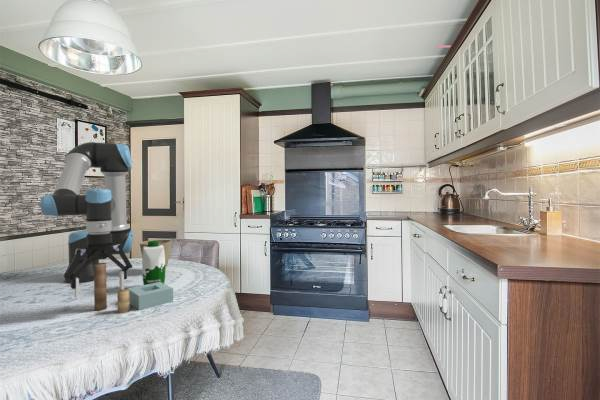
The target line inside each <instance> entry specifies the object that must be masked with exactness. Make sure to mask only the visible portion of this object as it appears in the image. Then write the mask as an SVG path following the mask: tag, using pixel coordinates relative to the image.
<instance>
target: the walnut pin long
mask: <svg viewBox="0 0 600 400" xmlns="http://www.w3.org/2000/svg"><path fill="white" fill-rule="evenodd" d="M93 286H94V287H93V291H94V293H93V294H94V295H93V297H94V299H93V301H94V311H95V312H101V311H105V310H107V308H108V304H107V303H108V302H107V300H108V298H107V297H108V295H107V263H106V262H99V263H97V264H94V280H93Z"/></svg>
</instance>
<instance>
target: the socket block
mask: <svg viewBox="0 0 600 400" xmlns="http://www.w3.org/2000/svg"><path fill="white" fill-rule="evenodd" d="M127 290H129V299H130V305H132V306H133V307H134V308H135V309H137V310H139V311H142V310H145V309H148V308H149V309H150V308H152V307H156V306H160V305H164V304H168V303H171V302H174V287H172V286H170V285H167V284H165V282H164V283H162V282H157V283H152V284H147V285H144V284H143V285H139V286H133V287H129V288H127Z"/></svg>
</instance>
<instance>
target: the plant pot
mask: <svg viewBox="0 0 600 400" xmlns="http://www.w3.org/2000/svg"><path fill="white" fill-rule="evenodd" d="M149 241H158V245H163V246H164V250H165V253H164V254H165V271H166V269H167V266H168V263H169V260H170V255H171V251H172V239H152V240H151V239H150V240H145V241H141V242H139V246H140V252H141V257H143V254H142V252H143V247H144V246H148V242H149Z"/></svg>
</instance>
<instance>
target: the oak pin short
mask: <svg viewBox="0 0 600 400" xmlns="http://www.w3.org/2000/svg"><path fill="white" fill-rule="evenodd" d="M116 295H117V299H116V300H117V313H118V314H125V312H126V313H128V312H130V308H131V306H130V305H131V304H130V299H129V290H128V288H127V289H123V290H122V289H120V290H117V294H116Z"/></svg>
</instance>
